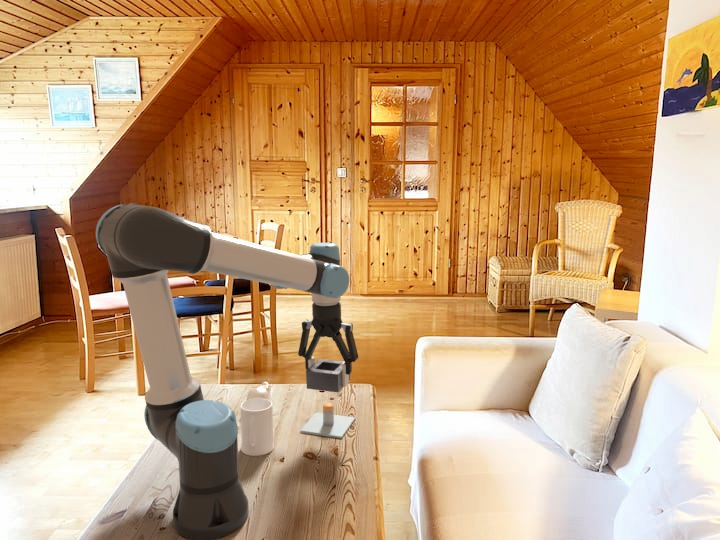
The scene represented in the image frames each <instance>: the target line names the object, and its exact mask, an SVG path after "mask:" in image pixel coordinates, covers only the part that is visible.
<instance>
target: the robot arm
mask: <svg viewBox="0 0 720 540" xmlns="http://www.w3.org/2000/svg"><path fill="white" fill-rule="evenodd" d="M95 239H96V242H97V244H98V247H99V249H100V250H101V251H102V252H103V254H104V255H106V258H107V262H108V266H109V269H110V272H111V276H112V278H113V279H114V280H116V281H117V282H120V283H121V284H122V285H123V289H124V292H125V293H124V294H125V296H126V300H127V305H128V309H129V313H130V316H131V319H132V320H131V321H132V324H133V328H134V333H135V336H136V339H137V342H138V347H139V350H140V354H141V358H142V362H143V365H144V369H145V374H146V377H147V382H148V386H149V388H148V390H147V391H146V392H145V395H144V401H145V407H144V408H145V409H144V422H145V425H146V428H147V430H148V432H149V433H150V434H151V436H153V437H154V438H155V439H156V440H157V441H159V442H160V443H161V444H162V445H163V446H164V447H165V448H166V449H167V450H169V452H170V453H171V454H172V455H173V456H174V457H176V459H177V461H178V476H179V477H178V478H179V489H178V492H177V496H176V499H175V503H174V506H173V511H172V525H173V529H174V531H175V532H176V533H177V534H178V535H179V536H181V537H183V538H186V539H188V540H216V539H219V538H223V537H225V536H228V535H230V534H232V533H234V532H235V531H237V530H238V529H240V528H241V527H242V526H243V524H245V522H246V521H247V519H248V516H249V513H250V511H249V500H248V497H247V495H246V493H245V490H244V488H243V485H242V483H241V480H240V476H239V445H238V441H239V440H238V433H239V428H238V423H237V417H236V413H235V411H234V410H233V408H232V407H231V406H230V405H228V404H226V403H224V402H222V401H219V400H218V401H214V400H212V399H211V400H210V399H204V395H203V391H202V386H201V382H200V380H199V379H198V378H196V377H194V376H192V375H191V372H190V366H189V363H188V359H187V354H186V349H185V346H184V341H183V337H182V333H181V329H180V325H179V324H180V323H179V319H178V316H177V312H176V307H175V303H174V300H173V294H172V291H171V287H170V282H169V278H168V273H169V271H170V272H171V271H172V272H182V273H187V274H192V275H197V274H199V273H201V272H202V271H205V272H209V273H215V274H219V275H223V276H224V275H225V276H229V277H234V278H238V279H243V280H248V281H253V282H259V283H263V284H267V285H268V284H269V285H271V286H272V287H273V288H275V289H277V290H287V289H292V290H297V291H302V292H305V293H310V294H311V301H312V303H311V309H312V310H311V311H312V320H309V319H305V320H303V321H302V322H301V329H302V332H301V338H300V341H299V342H300V343H299V347H298V348H299V349H298V352H297V355H298V356H299V357H301V358H304V360H305V361H304V363H305V371H306V370H307V369H309V368H310V367H311V366H312V365H313V364H314V363H315V362H316V357H315V356H313V354H314V352H315V349H316V347H317V345H318V344H319V341H320V339H321V338H324V337H326V338H331V339H332V340H333V342H334V343H335V345H336V347H337V349H338V351H339V353H340V355H341V357H342V359H343V361H344V362H343V363H342V376H343V388H346V387H347V386H348V385H349V384H350V380H349V374H350V375H351V373H352V371H353V365H352V363H355V362H356V361H358V359H359V353H358V349H357V346H356V341H355V336H354V331H353V330H354V329H353V328H354V324H353V323H352V322H349V323H345V322H343V320H342V303H341V302H340V301H341V300H342V299H341V297H342V296H343V295H344V294H345V293H346V292H347V291H348V288H349V286H350V275H349V273H348V271H347V269H346V268H345V267H344V266H342V265H341V257H340V256H341V255H340V248H339V245H338V244H336V243H332V242H316V243H313V244H311V245H310V248H309V252H308V253H306V254H295V253H292V252H288V251H285V250H280V249H277V248H273V247H269V246H264V245H262V244H258V243H253V242H250V241H246V240H242V239H239V238H235V237H232V236H227V235H224V234H220V233H217V232H216V233H215V232H212V230H211V229H210V227H209V226H208V225H206V224H202V223H199V222H196V221H192V220H190V219H187V218H184V217H182V216H180V215H178V214H175V213H173V212H171V211H167V210H165V209H162V208H159V207H155V206H151V205H150V206H149V205H148V206H147V205H142V204H139V203H135V202H134V203H132V202H131V203H123V204H118V205H114V206H113V207H111V208H109V209H108V210H106V211H105V212H104V213H103V214H102V215H101V217H99V219H98V221H97V223H96V227H95ZM312 327H313V329H314V330H315V332H314V335H313V336H312V339H311V341H310V344H309V343H308V341H309V338H310V332H311V328H312ZM341 329H343V332H344V335H345V340H346V343H345V341H344V338H343V335H342V333H341V331H340V330H341ZM308 344H309V346H308ZM346 344H347V345H346ZM307 347H308V348H307Z"/></svg>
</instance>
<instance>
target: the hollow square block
mask: <svg viewBox="0 0 720 540" xmlns="http://www.w3.org/2000/svg"><path fill="white" fill-rule="evenodd" d="M343 362H344V360H342V361H341V360H331V359H323V358H319V359H318V360H316V361H315V363H314V364H313V365H312V366H311V367H310V368H309V369H307V370H306V369H305V378H306V379H305V381H306V389H307V390H316V391H323V392H330V393H331V392H332V393H339V392H340V391H342V390H343V388H344V387H343V376H342V363H343ZM349 381H351V373H350V374H349Z"/></svg>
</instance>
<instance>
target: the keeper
mask: <svg viewBox="0 0 720 540" xmlns="http://www.w3.org/2000/svg"><path fill="white" fill-rule="evenodd" d="M334 405H335V404H333V403H330V402H328V403H327V402H326V403H324V404H323V405H322V412H315V414H313V416H312V417H311V418H310V419H308V421H307V422H306V423H305V424H304V426H303V427H301V429H300V433H301V434H307V435H308V434H309V435H316V436H323V437H329V438H335V439H343V438H344V436H345V435H346V433H347V432H348V430H349V429H350V427H351V426H352V425H353V423H354V422H355V420H356V417H354V416H353V417H352V416H346V415H340V414H339V415H337V414H335V413H334V412H335V410H334V409H335V407H334Z"/></svg>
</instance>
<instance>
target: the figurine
mask: <svg viewBox="0 0 720 540" xmlns="http://www.w3.org/2000/svg"><path fill="white" fill-rule="evenodd" d="M272 386H273V385H272V384H269V382H267V381H263V382H262V383H261V384H257V385H255V386H253V387H252V388H250V389H249V390H248V392H247V395H246V399H245V401H246V400H249V399H255V398H263V399H268V400H270V401H271V402H272V399H271V391H272V390H271V387H272Z"/></svg>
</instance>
